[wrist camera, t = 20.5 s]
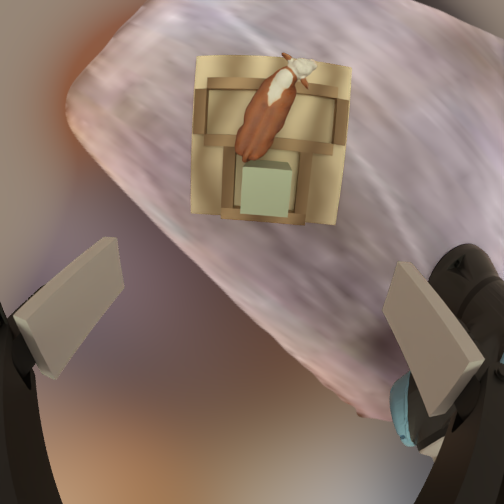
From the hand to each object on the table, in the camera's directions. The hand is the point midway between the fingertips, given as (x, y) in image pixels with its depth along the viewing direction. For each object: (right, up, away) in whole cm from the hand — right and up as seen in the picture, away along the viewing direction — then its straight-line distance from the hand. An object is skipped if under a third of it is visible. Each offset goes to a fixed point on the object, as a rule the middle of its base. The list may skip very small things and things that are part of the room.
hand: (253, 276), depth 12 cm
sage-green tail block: (+2, +10, +23) cm, 26 cm away
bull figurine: (+2, +18, +18) cm, 26 cm away
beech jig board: (+2, +16, +22) cm, 27 cm away
